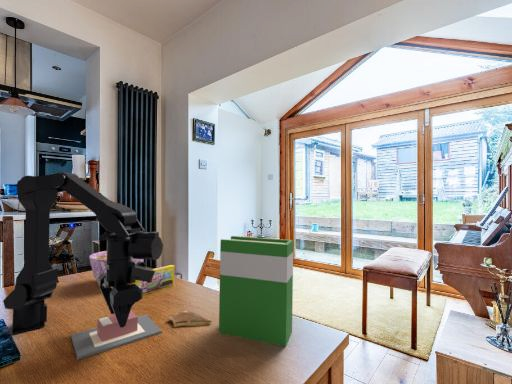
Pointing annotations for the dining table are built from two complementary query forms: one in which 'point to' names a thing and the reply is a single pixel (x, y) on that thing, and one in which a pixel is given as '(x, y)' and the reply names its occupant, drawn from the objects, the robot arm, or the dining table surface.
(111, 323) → the pink and white block
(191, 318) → the shard
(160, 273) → the candy box
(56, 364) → the dining table surface
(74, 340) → the mat
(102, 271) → the bowl of food
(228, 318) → the green cereal box
